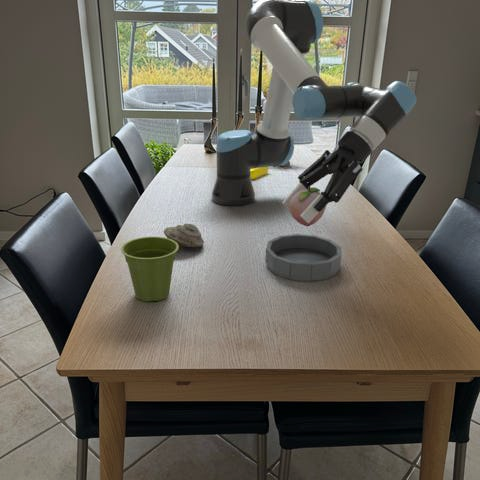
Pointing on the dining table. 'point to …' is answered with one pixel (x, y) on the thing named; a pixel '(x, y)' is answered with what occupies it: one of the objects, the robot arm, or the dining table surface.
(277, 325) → the dining table surface
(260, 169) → the element tile
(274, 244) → the bowl
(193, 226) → the fossilized seashell
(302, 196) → the decorative fruit
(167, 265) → the plant pot
